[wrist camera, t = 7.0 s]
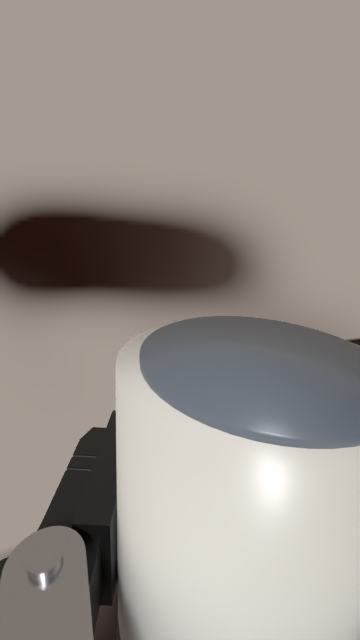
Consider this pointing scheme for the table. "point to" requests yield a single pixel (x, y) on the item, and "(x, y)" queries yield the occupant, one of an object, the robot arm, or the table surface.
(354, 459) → the lens barrel
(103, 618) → the table surface
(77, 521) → the robot arm
